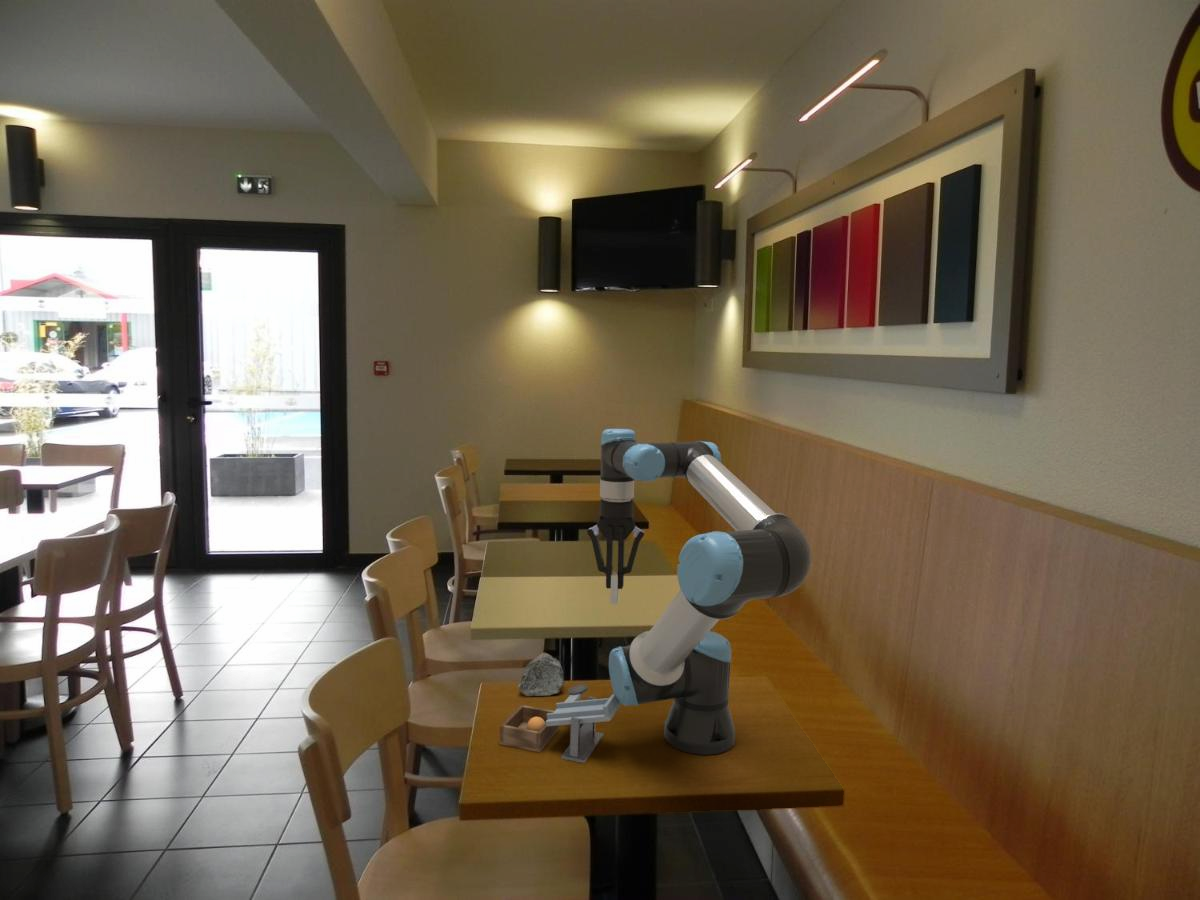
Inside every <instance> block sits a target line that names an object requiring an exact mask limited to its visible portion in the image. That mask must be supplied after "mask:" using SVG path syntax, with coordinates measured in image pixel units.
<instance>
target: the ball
mask: <svg viewBox="0 0 1200 900" xmlns="http://www.w3.org/2000/svg"><path fill="white" fill-rule="evenodd" d="M544 724H545V721H544V720H543V719H542V718H540V717H533V718H531V719H530V720H529V722H528V724H527V729H528V730H533V731H539V730H540V729H541V727H542V726H543V725H544Z"/></svg>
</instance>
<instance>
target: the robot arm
mask: <svg viewBox="0 0 1200 900" xmlns="http://www.w3.org/2000/svg"><path fill="white" fill-rule="evenodd" d="M600 440H601V441H600V442H601V444H600V446H599V447H600V479H599V480H600V481H599V497H600V500H599V518H598V521H597V523H596V524H595V525H593V526H591V527H589V528H588V529H587V532H586V534H587V535H588V536H589V538H590V540H591V543H592V549H593V552H594V557H595V563H596V566H597V570H598V571H599V572H600V573H601V572H602V573H604V574H605V587H606V589H610V602H609V603H610V605H618V603H619V590H623V588H624V582H625V581H624V580H625V576H624V575H627V574H631V572H632V570H633V566H634V563H635V559H636V557H637V556H636V555H637V552H638V548H639V544H640V542H641V540H642V539H643V537H644V536H645V530H644V529H640V528H639V527H638V526H636V522H635V520H634V510H635V509H634V508H635V507H634V503H635V501H634V500H633V499H634V497H635V480H636V481H638V482H647V483H648V482H654V481H655V480H657V479H667V478H669V479H671V478H684V479H685V480H686V481H687V482H688V483H689V484H691V486H692V487H693V488H694V489H695V490H696V491H697V493H699V494H700V495H701V496H702V497H703V498H704V500H705V501H707V502H708V503H709V504H710V506H712V508H714V511H716V512H717V513H718V514H719V515H720V516H721V517H722V518H723V519H724V520H725V521H726V522H727V523H728V524H729V525H730V526H731V527H732V528H733V529H734V531H710V532H706V533H701V534H700V533H699V534H698V535H694V536H693V537H691V538H689V539H688V540H687V541H686V542H685V544H684V545H683V546H682V548H681V551H680V553H679V555H678V561H679V564H677V566H676V570H677V571H676V573H677V581H678V585H679V588H680V589H679V591H678V592H677V594H676V595H675V596H674V598H673V599H672V600H671V601H670V603H669V605H667V607H666V609H665V610H664V611H663V612H662V614H661V615H660V616H659V618H658V619H657V621H656V622H655V623H654V624H653V626H652V627H651V629H650V630H646V631H643V632H642V633H640V634H638V635H636V636H635V638H634V639H633V640H632V641H631V643H630V644H629V645H628V646H627V645H626V646H617V647H615V648H613V649H611V651H610V652H609V656H608V674H609V680H610V684H611V687H612V689H613V693H615V696H616V698H617V699H618V701H619V702H620V703H621V706H626V707H629V706H631V707H632V706H639V705H643V704H650V703H656V702H660V701H662V702H663V701H666V700H673V701H672V704H671V707H670V709H669V712H668V715H667V717H666V720H665V721H664V728H663V731H664V732H663V736H664V737H663V738H664V739H665V741H666V742H667V743H668V744H669V745H670V746H672V747H673V748H675V749H677V750H679V751H682V752H685V753H688V754H689V753H690V754H694V755H703V756H705V755H706V756H707V755H717V754H720V753H721V754H722V753H724V752H727V751H728V750H730V749H731V748H732V747H734V745H735V742H736V740H735V739H736V728H735V726H734V725H735V724H734V721H733V718H732V714H731V710H730V707H729V701H730V700H729V698H730V697H729V696H730V682H731V678H730V677H731V667H732V666H731V663H732V661H733V660H732V647H731V643H730V642H729V640H728V639H727V637H725V636H724V635H722V634H719V633H718V632H715V631H711V630H712V629H713V627H714V626H716V624H717V623H718V622H719V621H720V620H728V619H730V618H732V617H734V616H735V615H736V614H737V613H738V612H740V610H741V609H742V608H743V607H744V605H746V603H748V602H749V601H753V600H761V599H769V598H770V599H772V598H779V597H783V596H787V595H789V594H791V593H793V592H795V591H796V590H797V589H799V588H800V586H801V585H802V584H803V583H804V582H805V580H806V579H807V577H808V574H809V573H810V570H811V565H812V552H811V551H812V550H811V546H810V542H809V540H808V538H807V536H806V535H805V534H804V532H803V530H802V529H801V528H800V527H799V526H798V525H797V524H796V523H795V522H794V521H793V520H792V519H791V518H790V517H788V516H787V515H785V514H784V513H780V512H778V513H777V512H775V511H774V510H773V509H772V508H771V507H769V505H767V504H766V503H765V502H764V501H763V500H762V499H761V498H760V497H759V496H758V495H757V494H756V493H754V492H753V491H752V490H751V489H750V488H749V487H748V486H747V485H745V483H743V482H742V481H741V480H740V479H739V478H738V477H737V476H736V475H734V474H733V473H732V471H731V470H729V469H728V468H727V467H726V466H725V465H724V464H723V463H722V455H721V451H719V447H718V446H717V444H716V443H714V442H711V441H702V440H696V441H677V442H675V441H674V442H671V441H670V442H667V441H665V442H664V441H663V442H638V441H637V439H636V432H635V431H634V430H633V429H630V428H629V429H628V428H607V429H606V428H605V429H604V430H603V431H602V433H601V439H600ZM632 532H633V537H634V540H633V542H632V546H631V551H630V554H629V557H628V562H627V565H626V566H625V550H626V549H625V546H626V545H625V543H626V540H627V539H628V537H629V536H630V535H631V533H632ZM600 533H601V534H602V536H603V537H604V538H605V539H606V557H605V558H606V559H605V561H606V563H605V562H604V557H603V551H602V548H601V547H602V546H601V543H600V539H599V534H600ZM614 541H617V548H618V550H617V551H618V552H617V572H613V570H614V569H613V567H614V566H613V563H614V559H613V558H614Z"/></svg>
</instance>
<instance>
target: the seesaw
mask: <svg viewBox="0 0 1200 900" xmlns="http://www.w3.org/2000/svg"><path fill="white" fill-rule="evenodd" d="M567 691H568V692H567V693H568V695H569V696H568V697H567V698H566V700H564V701H562V702H556V703H555V706H556V709H555V710H553V711H554V712H553V713H548V714H547V721H546V726H556V725H559V726H565V725H571V718H572V717H574V718H579V719H580V723H592V722H596V723H601V722H603V723H604V722H610V721H611V720H612V719H613V717H614V716H615V714H616V712H618V710H619V709H620V707H621V706H622V704H621V703H620V702H619V701H618V699H617V698H616V696H615V693H614V692H613V693H612V694H611V695H610V697H606V698H598V699H597V698H596V699H593V700H588V699H586V700H585V699H584V700H583V699H582V700H580V699H581V698H582V697H583V696H584V695H585V693H586V692H587V691H588V685H587V684H582V683H581V684H576V685H574V686H573V685H572V686H571V687H569V688H568V690H567Z"/></svg>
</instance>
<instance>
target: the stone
mask: <svg viewBox="0 0 1200 900" xmlns="http://www.w3.org/2000/svg"><path fill="white" fill-rule="evenodd" d="M520 679H521V680H520V683H519V684H518V686H517V688H518V689H519V690H520V692H521V693H522V694H523V695H524V696H526V697H533V696H535V697H537V696H539V697H540V696H541V697H543V696H552V695H554V694H555V695H557V694H559V693H560V692H561V689H562V687H563V685H564V684H565V682H564V681H565V680H564V670H563V666H562V665H561V662H560V660H558V659H557V658H556V657H553V656H552V655H550V654H549V653H547V652H542V653H541V654H539V655H538V656H536V657H535V658H534V659H532V660H531V661H530V662H529V663H527V665H526V666H525V669H524V670H523V673H522V675H521V678H520Z"/></svg>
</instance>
